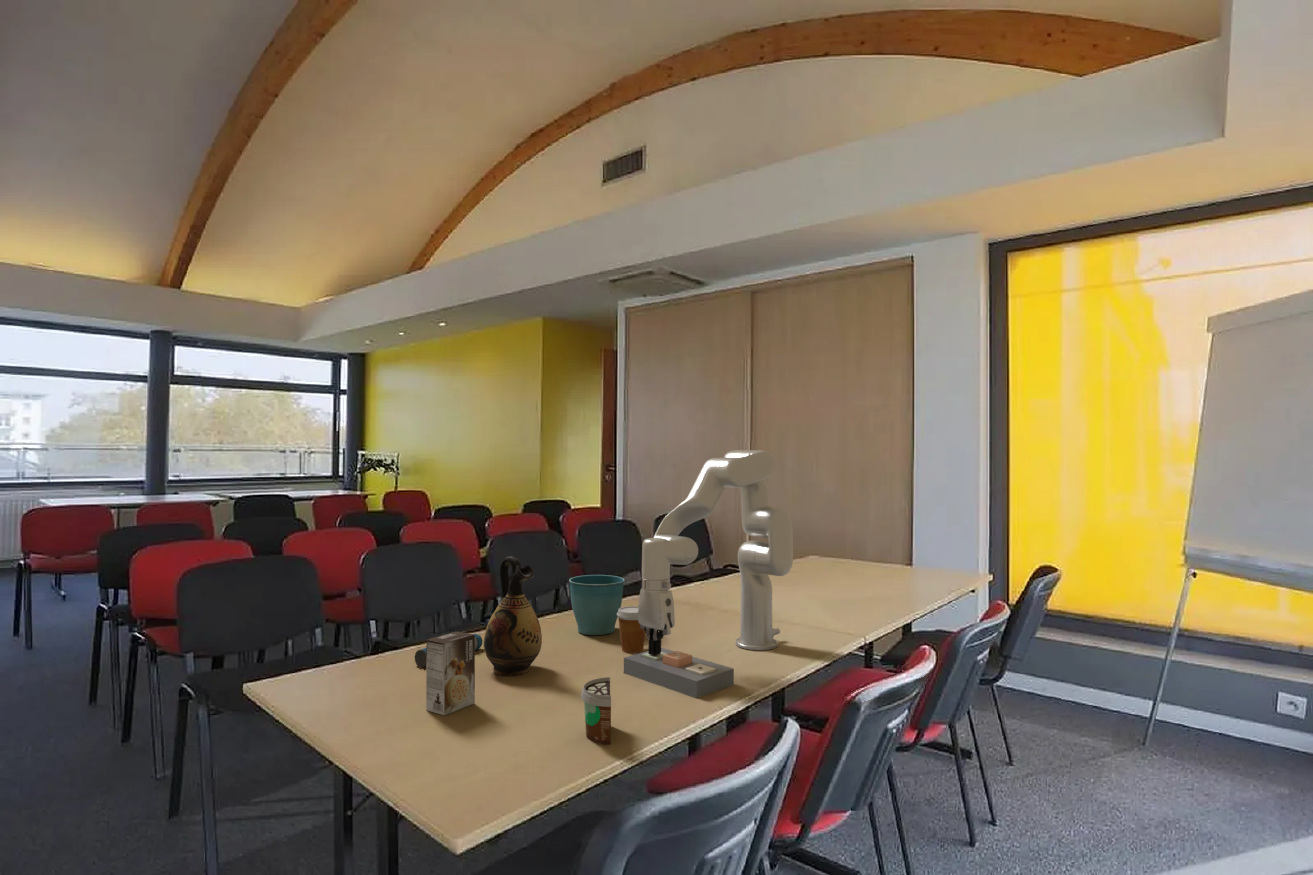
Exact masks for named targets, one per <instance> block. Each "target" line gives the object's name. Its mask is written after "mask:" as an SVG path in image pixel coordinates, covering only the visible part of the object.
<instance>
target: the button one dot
mask: <svg viewBox="0 0 1313 875" xmlns="http://www.w3.org/2000/svg"><path fill="white" fill-rule="evenodd" d="M685 671H689V672H692V673H695V674H698V675H704V674H707V673H710V672H713V671H716V668H713V667H709V666H706V665H702V664H697V665H694V666H691V667H687V668H685Z"/></svg>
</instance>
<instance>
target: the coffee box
mask: <svg viewBox="0 0 1313 875" xmlns="http://www.w3.org/2000/svg"><path fill="white" fill-rule="evenodd" d="M475 634H476V633H467V632H462V631H453V632H448V633H445V634H442V635H438V636H434V637H431V638H428V639H425V641H426V645H425V646H426V647H425V648H426V667H425V668H426V669H425V670H426V674H425V675H426V678H425V679H426V684H425V685H426V686H425V687H426V695H425V697H426V698H425V699H426V700H425V701H426V704H425V705H426V706H425V707H426V708H425V709H426V711H428V712H430V713H435V714H437V715H441V716H447V715H449V714H452V713H454V712H457V711H458V710H462V709H464V708H467V707H469V706H471V705H473V704H475V702H476V697H475V696H476V694H475V692H476V691H475V689H476V677H475V676H476V669H475V668H476V666H475V665H476V657H475V656H476V651H475Z"/></svg>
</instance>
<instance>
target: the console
mask: <svg viewBox="0 0 1313 875" xmlns="http://www.w3.org/2000/svg"><path fill="white" fill-rule="evenodd" d="M661 652H663V653H667V654H668V653H672V652H675V650H671V649H667V648H665V647H661ZM644 653H648V650H647V651H642V652H638V653H635V654H632V655H628V656H625V657H623V674H625V675H628V676H632V677H634V678H637V679H640V680H643V681H646V682H648V683H652V684H655V685H658V686H660V687H662V688H663V687H664V688H666V689H669V690H672V691H675V692H678V693H681V694H683V695H686V696H689V697H693V698H695V699H697V698H701V697H703V696H706V695H708V694H713V692H717V691H720V690H722V689H726V688H729V687H731V686H733V685H734V684H735V677H734V676H735V674H734V673H735V672H734V671H735V670H734V669H735V668H733V667H729V666H726V665H722V664H718V663H716V662H712V661H709V660H706V659H702V658H699V657H695V656H692V664H689V665H686V666H683V667H680V668H676V667H673V666H669V665H666V664H663V659H661V660H658V661H654V660H650V659H647V658H644V657H642V654H644ZM697 664H702V665H706V666H709V667H713V668H716V671H713V672H710V673H707V674H704V675H698V674H695V673H692V672H689V671H685V668H687V667H691V666H694V665H697Z"/></svg>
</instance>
